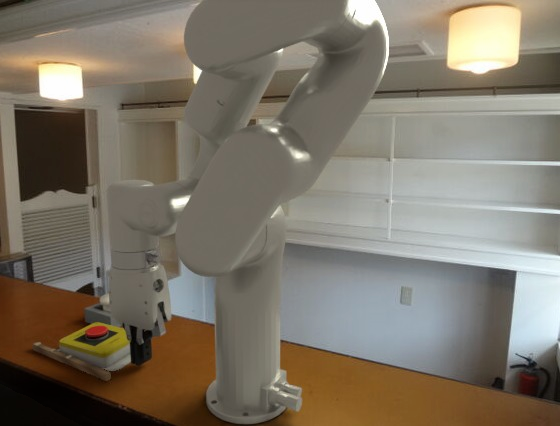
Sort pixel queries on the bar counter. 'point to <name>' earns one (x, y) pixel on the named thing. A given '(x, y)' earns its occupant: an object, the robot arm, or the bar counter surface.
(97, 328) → the emergency button
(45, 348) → the rail
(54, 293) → the bar counter surface
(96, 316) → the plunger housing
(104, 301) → the plunger
